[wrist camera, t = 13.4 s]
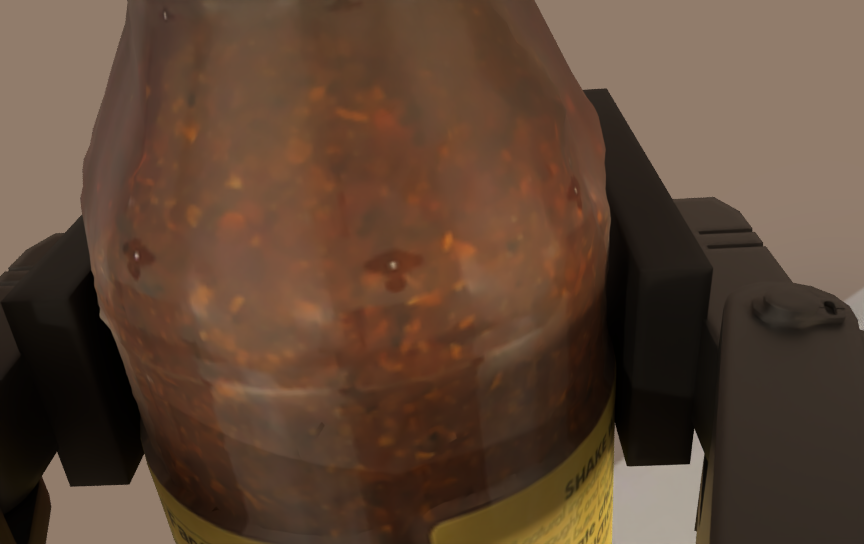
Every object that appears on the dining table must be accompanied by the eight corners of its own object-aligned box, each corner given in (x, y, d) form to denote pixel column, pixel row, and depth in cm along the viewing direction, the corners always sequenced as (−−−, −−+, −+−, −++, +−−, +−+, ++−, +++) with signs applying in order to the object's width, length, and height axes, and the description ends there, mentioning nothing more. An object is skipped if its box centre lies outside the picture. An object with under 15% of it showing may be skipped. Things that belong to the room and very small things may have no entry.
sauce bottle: (555, 633, 19) (592, -520, 9) (651, 962, 13) (991, -1047, 4) (272, 673, 18) (-6, -503, 9) (250, 1032, 13) (-580, -1085, 3)
